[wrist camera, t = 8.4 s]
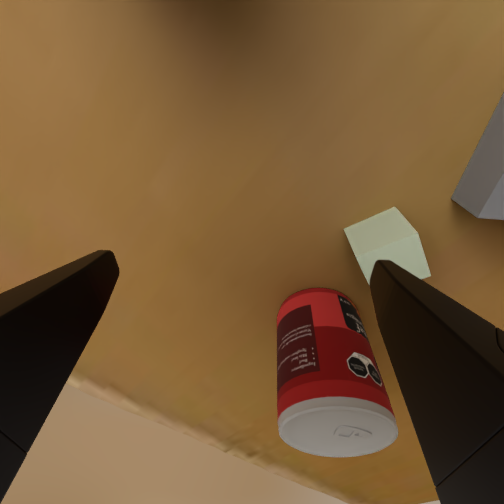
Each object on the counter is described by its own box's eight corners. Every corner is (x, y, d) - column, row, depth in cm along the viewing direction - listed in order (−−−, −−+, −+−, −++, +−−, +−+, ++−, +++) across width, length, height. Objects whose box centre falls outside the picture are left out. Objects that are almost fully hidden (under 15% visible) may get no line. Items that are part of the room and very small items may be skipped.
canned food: (354, 336, 29) (391, 459, 20) (279, 339, 30) (282, 457, 21) (360, 282, 25) (410, 407, 16) (273, 287, 26) (272, 407, 17)
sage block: (343, 228, 22) (355, 257, 18) (394, 206, 20) (417, 232, 17) (359, 263, 24) (373, 295, 20) (408, 244, 22) (431, 275, 19)
